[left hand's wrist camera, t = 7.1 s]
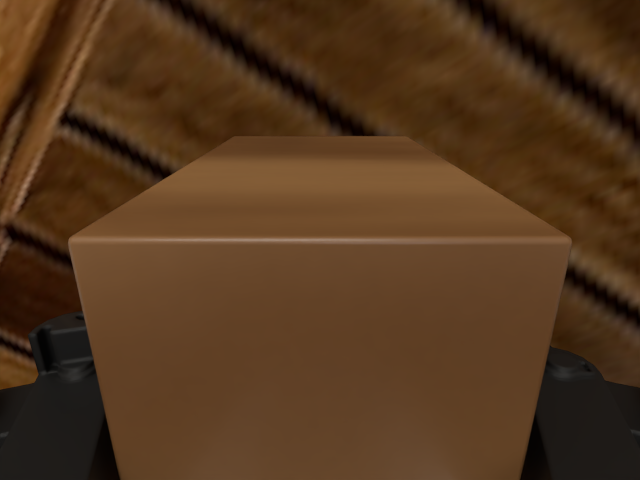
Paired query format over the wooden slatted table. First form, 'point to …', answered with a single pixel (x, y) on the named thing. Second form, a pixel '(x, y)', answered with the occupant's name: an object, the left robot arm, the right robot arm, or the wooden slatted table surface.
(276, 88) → the wooden slatted table surface
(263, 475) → the bar
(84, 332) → the left robot arm
